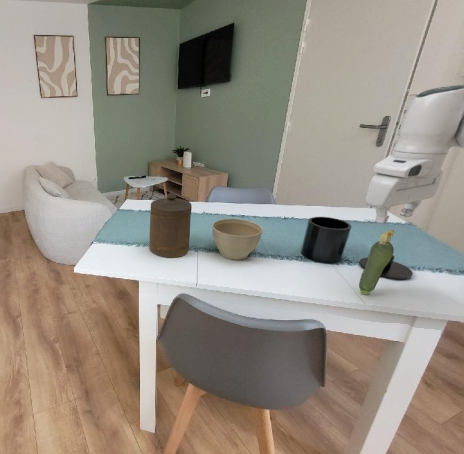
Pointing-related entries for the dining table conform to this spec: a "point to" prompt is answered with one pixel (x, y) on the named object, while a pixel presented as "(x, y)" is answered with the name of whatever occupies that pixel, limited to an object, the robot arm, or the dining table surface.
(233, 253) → the planter bowl
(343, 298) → the dining table surface
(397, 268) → the bin lid
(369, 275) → the vegetable
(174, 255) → the wooden container
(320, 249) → the trash can
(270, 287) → the dining table surface
